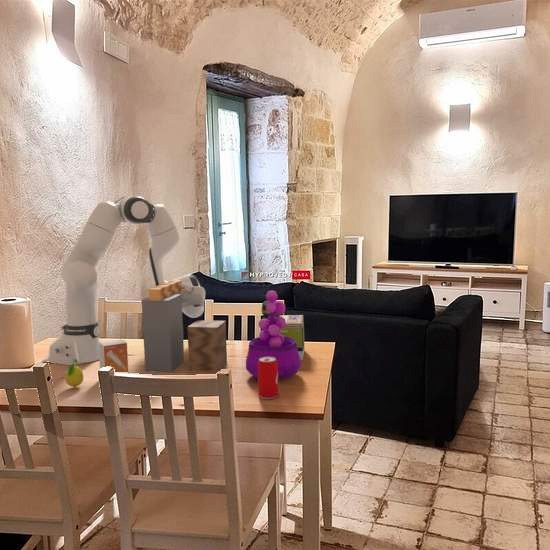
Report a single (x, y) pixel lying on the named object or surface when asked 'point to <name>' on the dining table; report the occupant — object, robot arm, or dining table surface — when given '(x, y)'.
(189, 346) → the walnut pedestal
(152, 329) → the charcoal stand
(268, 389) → the beverage can
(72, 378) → the lemon
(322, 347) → the dining table surface
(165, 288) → the orange bar
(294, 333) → the tea box
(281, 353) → the decorative plant
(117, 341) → the small box
